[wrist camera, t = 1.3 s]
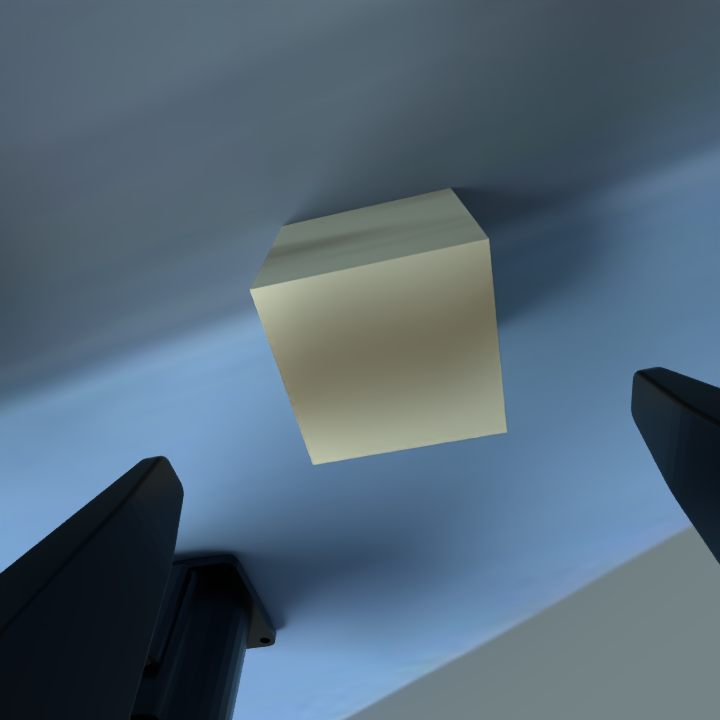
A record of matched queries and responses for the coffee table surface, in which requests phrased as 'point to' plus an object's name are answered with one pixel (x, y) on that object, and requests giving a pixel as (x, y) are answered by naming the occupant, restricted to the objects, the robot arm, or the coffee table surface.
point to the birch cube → (385, 327)
